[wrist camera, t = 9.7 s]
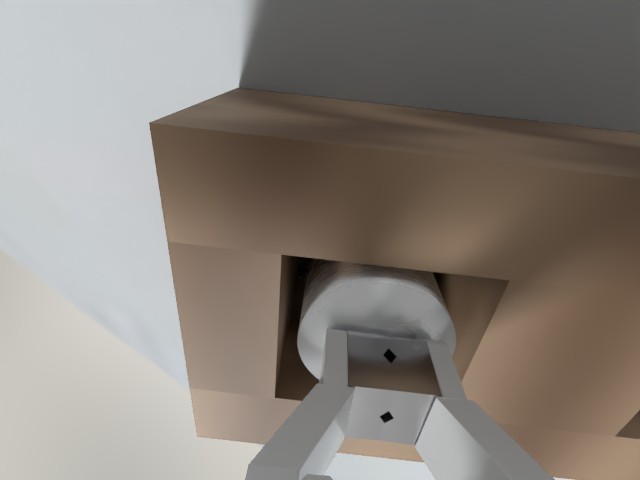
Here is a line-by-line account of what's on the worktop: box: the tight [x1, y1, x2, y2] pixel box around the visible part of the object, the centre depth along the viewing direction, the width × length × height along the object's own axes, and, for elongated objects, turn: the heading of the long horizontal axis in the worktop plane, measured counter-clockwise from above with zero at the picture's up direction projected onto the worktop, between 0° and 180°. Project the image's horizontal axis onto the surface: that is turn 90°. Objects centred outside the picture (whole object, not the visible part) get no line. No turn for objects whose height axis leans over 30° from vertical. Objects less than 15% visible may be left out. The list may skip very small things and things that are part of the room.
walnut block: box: [149, 88, 640, 480], centre depth 11 cm, size 20×10×6 cm, turn 85°
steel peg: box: [297, 258, 456, 379], centre depth 11 cm, size 4×4×6 cm
